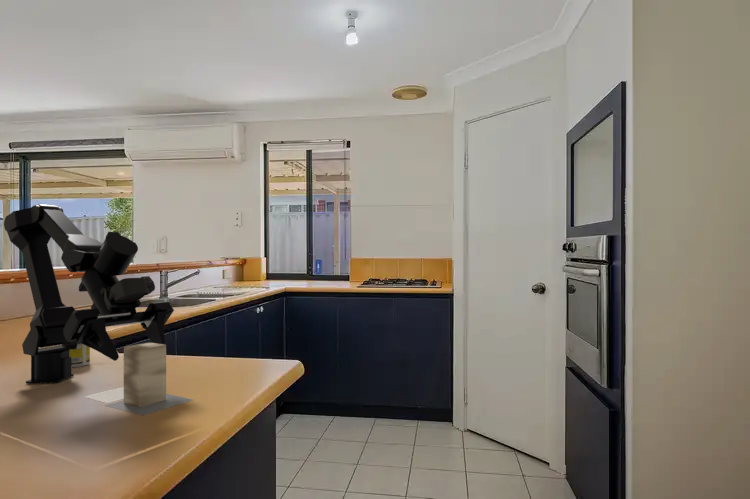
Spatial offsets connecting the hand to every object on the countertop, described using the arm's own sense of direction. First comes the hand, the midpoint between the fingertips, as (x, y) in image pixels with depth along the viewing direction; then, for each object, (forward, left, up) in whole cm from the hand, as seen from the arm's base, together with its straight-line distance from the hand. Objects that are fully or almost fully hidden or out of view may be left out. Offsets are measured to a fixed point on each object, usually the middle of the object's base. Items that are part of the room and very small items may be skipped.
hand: (141, 354), depth 87 cm
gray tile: (+2, -1, -9) cm, 9 cm away
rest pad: (-7, +4, -9) cm, 12 cm away
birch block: (+1, -1, -8) cm, 8 cm away
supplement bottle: (-30, +32, -9) cm, 45 cm away
